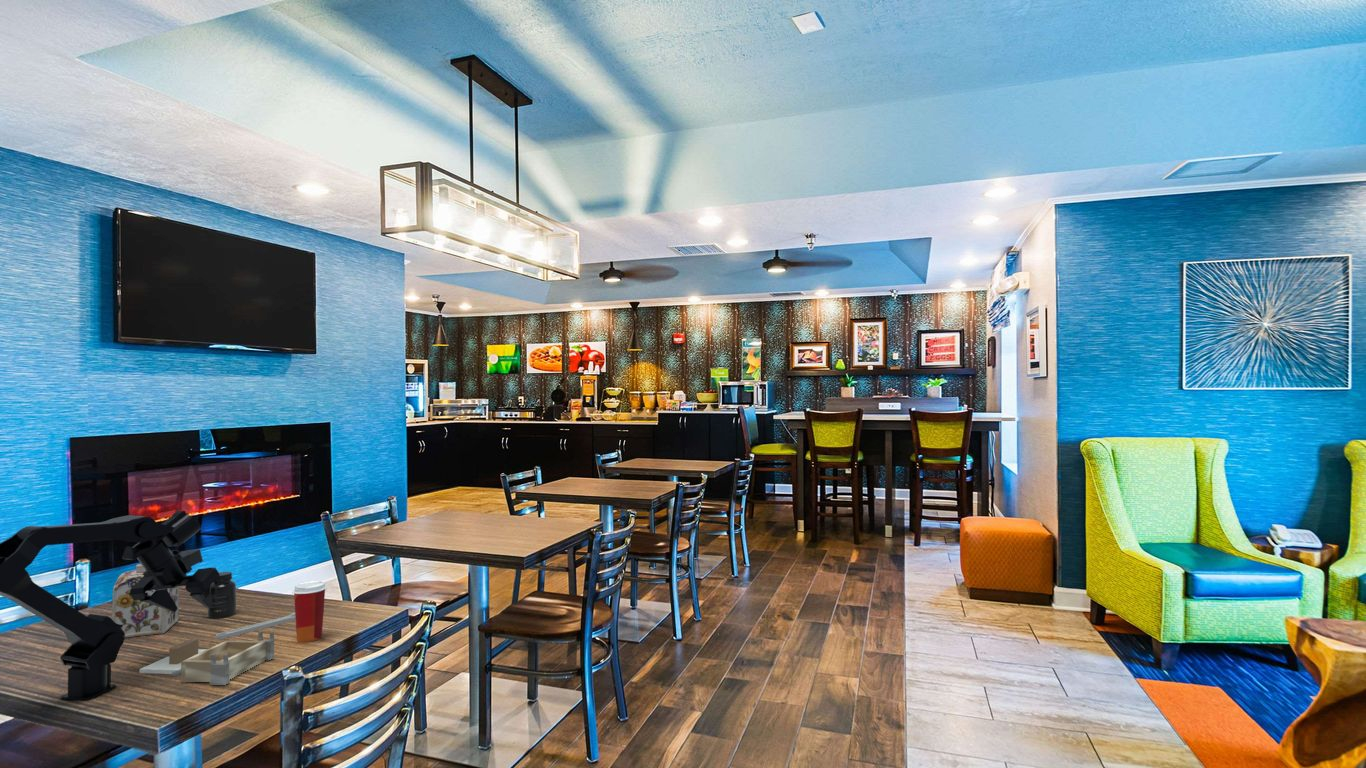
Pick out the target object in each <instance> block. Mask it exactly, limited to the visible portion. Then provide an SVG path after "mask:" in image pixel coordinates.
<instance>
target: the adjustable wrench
mask: <svg viewBox="0 0 1366 768" xmlns="http://www.w3.org/2000/svg"><path fill="white" fill-rule="evenodd" d="M295 620H296V619H295V611H294V612H292V613H290V614H288V615H286V616H282V617H279V618H278V617H277V618H274V619H271V620H267V621H263V622H259V623H254V624H250V625H247V626H242V627H239V628H234V629H230V630H229V629H228V630H225V631H222V632H219V633H216V635H215V639H216V640H218V639H219V640H224V638H225V639H229V638H233V637H236V635H237V636H240V634H241V635H244V634H243V633H245V634H248V633H247V632H249V633H252V632H251V631H253V632H256V631H255V630H257V631H260V630H259V629H261V630H263V628H264V629H267V627H268V628H271V626H272V627H275V626H274V625H276V626H279V625H278V624H280V625H282V624H281V623H284V624H286V623H285V622H288V623H290V622H289V621H294V622H296V621H295ZM232 636H233V637H232ZM228 637H229V638H228Z"/></svg>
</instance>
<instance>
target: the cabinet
mask: <svg viewBox="0 0 1366 768" xmlns="http://www.w3.org/2000/svg"><path fill="white" fill-rule="evenodd" d="M263 633H264V631H263V630H259V631H258V633H257V634H258V637H257V638H258V639H257V640H227V639H226V640H225V641H223V642H220V643H218V644H217V645H214V646H211V647H209V648H208V649H207V650H205V651H203V652H201V653H199V654H196V655H194V656H192V657H190V658H188V659H186V660H184V661H182V662H181V674H180V683H186V682H210V683H209V685H210V686H212V685H226V684H228V683H229V684H230V681H231V680H233V679H235V678H236V677H235V676H237V675H239V674H240V675H242V674H244V673H246V672H248V671H250V670H251V669H253V668H255V667H256V665H257V666H259V665H260V664H262V663H264V662H266V661H269V660H271V659H273V658H274V659H275V631H274V630H272V631H270V632H269V639H263V636H264V634H263ZM274 659H273V660H274ZM265 660H266V661H265ZM271 661H272V660H271ZM258 664H259V665H258ZM254 666H255V667H254ZM252 667H253V668H252ZM250 668H251V669H250ZM247 670H248V671H247ZM245 671H246V672H245ZM243 672H244V673H243ZM241 673H242V674H241ZM240 675H239V676H240ZM234 677H235V678H234ZM237 677H238V676H237ZM232 678H233V679H232ZM230 679H231V680H230ZM229 684H228V685H229ZM226 686H227V685H226Z"/></svg>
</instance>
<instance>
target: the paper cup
mask: <svg viewBox="0 0 1366 768" xmlns="http://www.w3.org/2000/svg"><path fill="white" fill-rule="evenodd" d="M326 589H327V586H326V584H325V582H324V581H320V580H314V581H312V580H311V581H306V582H301V583H297V584H296V585H295V586H294V588H293V590H292V593H293V597H294V598H293V599H294V612H295V619H296V621H295V630H296V631H295V632H296V633H295V634H296V641H297V642H298V643H301V642H303V644H304V643H311V642H316V641H318V640H321V638H322V635H323V624H324V622H323V621H324V614H325V613H324V611H325V596H326V595H325V594H326Z"/></svg>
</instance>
